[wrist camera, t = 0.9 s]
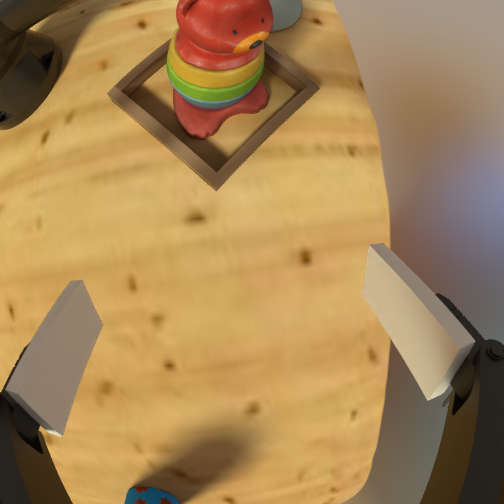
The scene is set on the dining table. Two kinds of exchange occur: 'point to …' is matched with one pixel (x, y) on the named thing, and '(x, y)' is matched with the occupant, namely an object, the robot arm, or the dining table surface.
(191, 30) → the stacking bear
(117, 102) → the collar
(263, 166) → the dining table surface
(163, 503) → the thermos
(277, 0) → the pad
